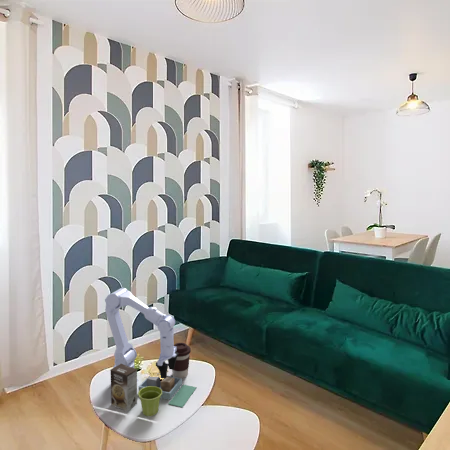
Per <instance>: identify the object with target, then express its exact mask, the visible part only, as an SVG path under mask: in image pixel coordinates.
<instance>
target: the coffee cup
mask: <svg viewBox="0 0 450 450" xmlns="http://www.w3.org/2000/svg"><path fill="white" fill-rule="evenodd" d="M174 346H175V347H177V351H176V352H177V353H179V355H178V357H177V359H176V362H175V367H174V370H172V369H171V371H172V377H177V378H182V379H185V378H186V377H188V375H189V367H190V355H191V350H192V348H191V347H190V346H189V345H188V344H187V343H186V342H176V343H174Z"/></svg>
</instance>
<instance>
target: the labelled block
mask: <svg viewBox="0 0 450 450" xmlns="http://www.w3.org/2000/svg"><path fill="white" fill-rule="evenodd" d="M172 377H173V376H172ZM172 377H166V378H164V379H163V380H162V381H161V390H162V391H165V392H170V391H171V390H172V389H173V387H174V386H175V378H172Z"/></svg>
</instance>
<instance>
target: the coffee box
mask: <svg viewBox="0 0 450 450" xmlns="http://www.w3.org/2000/svg"><path fill="white" fill-rule="evenodd" d="M113 367H114V366H113ZM113 367H112V368H111V369H110V370H109V371H110V401H111V402H110V403H111V406H113V407H115V408H118V409H121V410H123V411H126V412H129V411H131V409H133V408H134V407H135V406H137V405H138V381H137V379H138V369H137V368H136V367H134V368H132V367H129V366H127V365H124V364H119V365H118V366H116V367H114V368H113Z"/></svg>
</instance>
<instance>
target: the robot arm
mask: <svg viewBox="0 0 450 450" xmlns="http://www.w3.org/2000/svg"><path fill="white" fill-rule="evenodd" d="M104 302H105V309H104V311H105V314H106V318H107V321H108V325H109V327H110V331H111V334H112V339H113V340H114V341H113V342H114V344H115V347H116V348H115V351H114V354H113V356H114V365H113V367H112V369H113V368H114V367H116V366H118V365H119V364H124V365H127V366H129V367H132V368H135V360H136V359H137V357H138V355H137V354H138V353H137V351H136V349H135V348H134V346H133V344H132V343H130V342H129V340H128V337H127V334H126V330H125V327H124V323H123V321H122V318H121V314H120V309H121V308H122V307H126V306H129V307H131V308H132V309H134V310H136V311H138V312H140V313H141V314H143V315H144V318H145V319H146V320H147V321H149V322H150V323H152V324H153V325H155V326H156V328H157V329H158V331H159V337H160V338H159V339H160V340H159V341H160V354H159V357H158V360H157V361H156V362H155V366H156V368H157V369H158V371H159V374H160V375H161V378H166V377H167V376H168V369H169V370H171V371H172V370H174V367H175V362H176V359H177V357H178V355H179V353H177V352H176V351H177V347H175V346H174V344H175V343H174V337H175V336H174V327H175V325H176V319H175V317H173V315H171V314H165V313H163V312H161V311H160V310H158V308H157V307H155V306H150V307H149V306H148V305H147V304H145V303H144V302H142V301H141V299H138V298H137V297H136V296H134V294H133V293H132V292H131V291H130V290H128V289H127V288H125V287H121V288H118V289H117V290H115V291H113V292H112V293H109V294H108V295H107V296H106V297H105V299H104ZM166 361H167V362H168V363H167V362H166ZM137 382H139V379H138V378H137Z"/></svg>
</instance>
